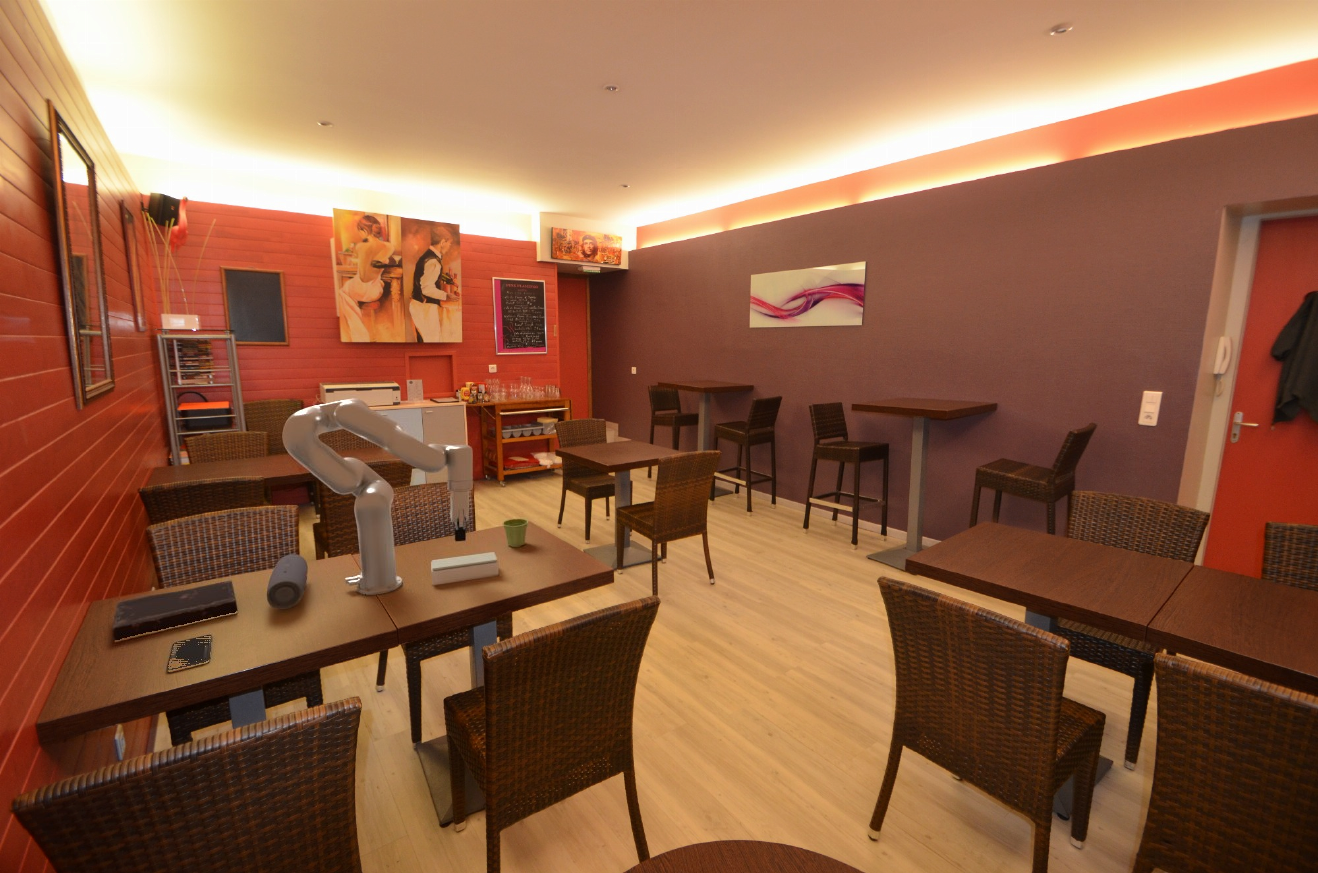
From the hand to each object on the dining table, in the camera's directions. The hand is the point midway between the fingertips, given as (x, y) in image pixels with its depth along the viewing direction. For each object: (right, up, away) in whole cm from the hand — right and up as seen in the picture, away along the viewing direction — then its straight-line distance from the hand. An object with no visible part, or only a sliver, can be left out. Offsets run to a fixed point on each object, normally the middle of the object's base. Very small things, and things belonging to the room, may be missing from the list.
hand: (460, 540), depth 181 cm
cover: (+1, -7, +3) cm, 8 cm away
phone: (-50, -20, -44) cm, 69 cm away
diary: (-69, -17, -24) cm, 75 cm away
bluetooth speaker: (-46, -15, -13) cm, 50 cm away
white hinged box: (0, -12, +3) cm, 13 cm away
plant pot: (+10, -8, +32) cm, 34 cm away
